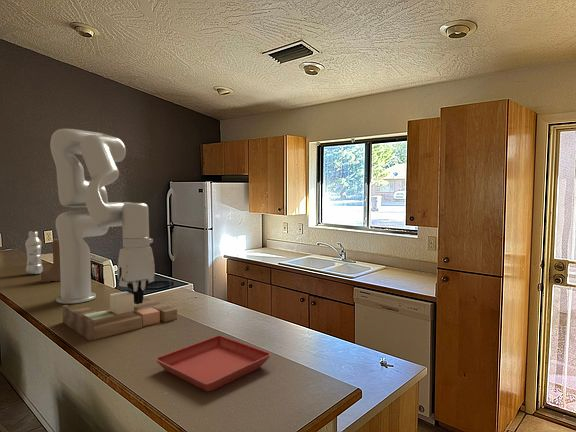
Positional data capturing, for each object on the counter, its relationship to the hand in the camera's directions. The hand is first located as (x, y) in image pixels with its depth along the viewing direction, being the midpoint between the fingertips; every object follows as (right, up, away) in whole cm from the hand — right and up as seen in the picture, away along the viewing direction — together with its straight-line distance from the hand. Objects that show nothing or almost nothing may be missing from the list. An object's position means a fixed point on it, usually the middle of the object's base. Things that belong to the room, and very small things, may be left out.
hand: (137, 302), depth 122 cm
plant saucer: (+30, -7, -36) cm, 47 cm away
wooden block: (-56, -2, +51) cm, 76 cm away
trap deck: (-3, -5, -3) cm, 6 cm away
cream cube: (-3, -2, -4) cm, 5 cm away
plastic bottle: (-73, -1, +65) cm, 98 cm away
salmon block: (+5, -5, -4) cm, 8 cm away
